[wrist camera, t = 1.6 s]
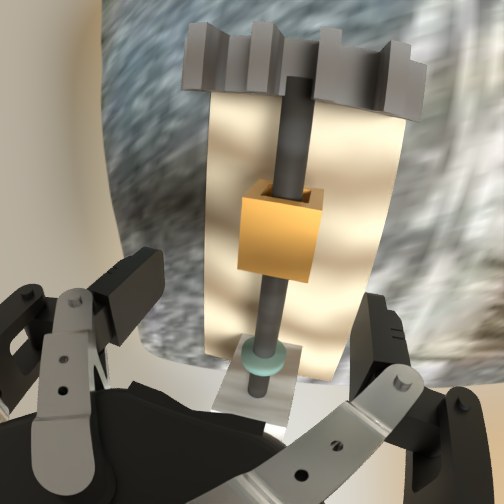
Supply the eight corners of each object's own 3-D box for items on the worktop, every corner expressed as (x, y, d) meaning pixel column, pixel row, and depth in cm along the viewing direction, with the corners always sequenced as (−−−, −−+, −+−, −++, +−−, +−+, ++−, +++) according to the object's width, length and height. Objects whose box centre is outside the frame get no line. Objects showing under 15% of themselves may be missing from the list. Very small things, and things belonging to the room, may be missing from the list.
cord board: (222, 45, 20) (139, 11, 10) (407, 69, 17) (470, 43, 7) (209, 344, 34) (168, 424, 24) (331, 371, 32) (321, 462, 22)
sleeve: (259, 178, 18) (242, 197, 15) (324, 189, 17) (322, 210, 14) (253, 239, 20) (236, 269, 17) (313, 251, 19) (308, 283, 16)
